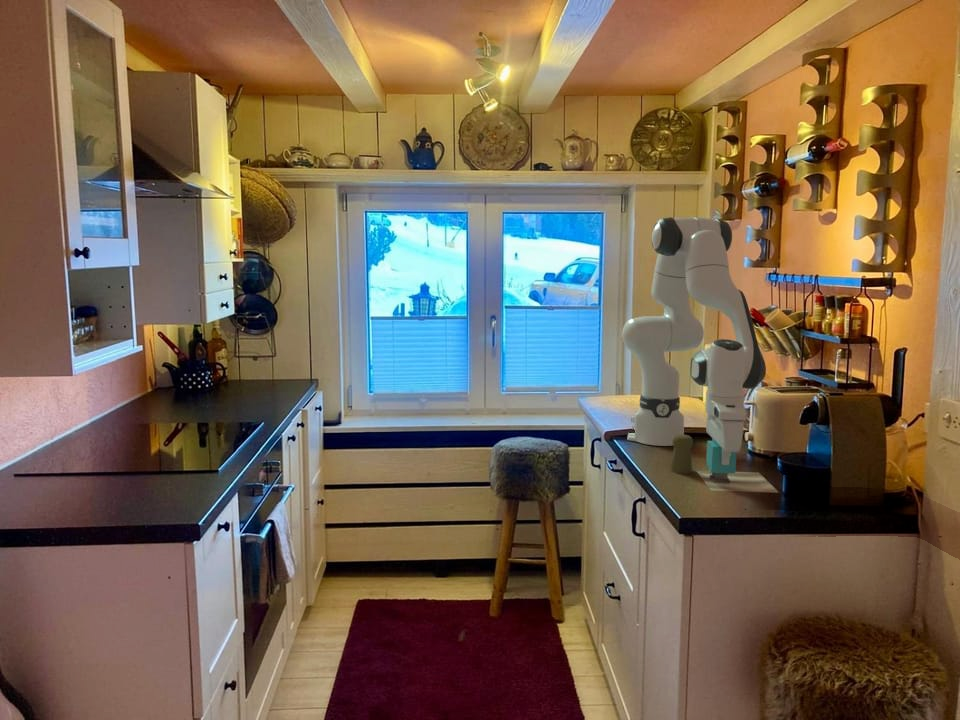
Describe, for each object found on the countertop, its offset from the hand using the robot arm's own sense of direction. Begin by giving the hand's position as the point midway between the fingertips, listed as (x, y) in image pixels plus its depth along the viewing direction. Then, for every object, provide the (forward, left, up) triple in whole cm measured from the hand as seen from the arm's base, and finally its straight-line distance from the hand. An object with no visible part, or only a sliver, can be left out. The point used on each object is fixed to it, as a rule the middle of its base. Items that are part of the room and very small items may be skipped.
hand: (720, 460), depth 182 cm
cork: (-8, -8, -7) cm, 13 cm away
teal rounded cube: (0, 0, -2) cm, 2 cm away
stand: (0, +4, -7) cm, 8 cm away
